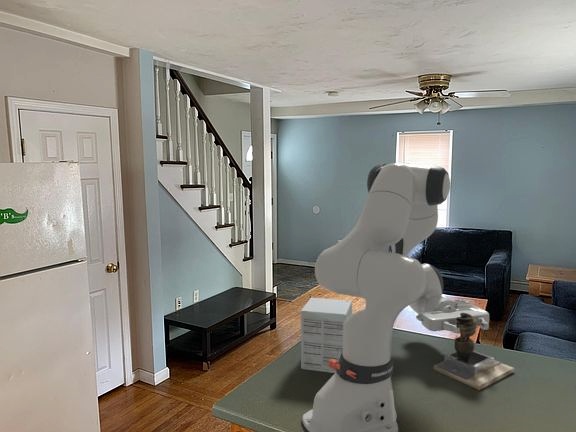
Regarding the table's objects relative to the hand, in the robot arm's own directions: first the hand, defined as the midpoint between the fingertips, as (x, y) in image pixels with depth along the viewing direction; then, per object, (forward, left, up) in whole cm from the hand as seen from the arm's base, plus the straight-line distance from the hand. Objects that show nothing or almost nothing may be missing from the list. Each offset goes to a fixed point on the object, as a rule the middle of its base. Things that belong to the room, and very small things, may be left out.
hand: (472, 328), depth 122 cm
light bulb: (-1, +2, -11) cm, 11 cm away
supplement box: (-30, +28, -12) cm, 43 cm away
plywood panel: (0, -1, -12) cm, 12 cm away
